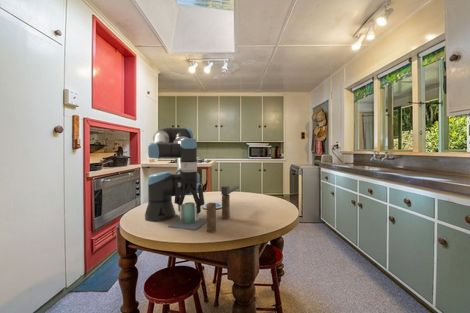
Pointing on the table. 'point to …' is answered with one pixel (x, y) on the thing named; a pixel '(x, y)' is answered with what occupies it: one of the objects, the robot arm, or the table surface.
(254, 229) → the table surface
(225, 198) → the frame
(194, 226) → the pad
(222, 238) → the table surface
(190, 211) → the plug
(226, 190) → the dark grey bar
